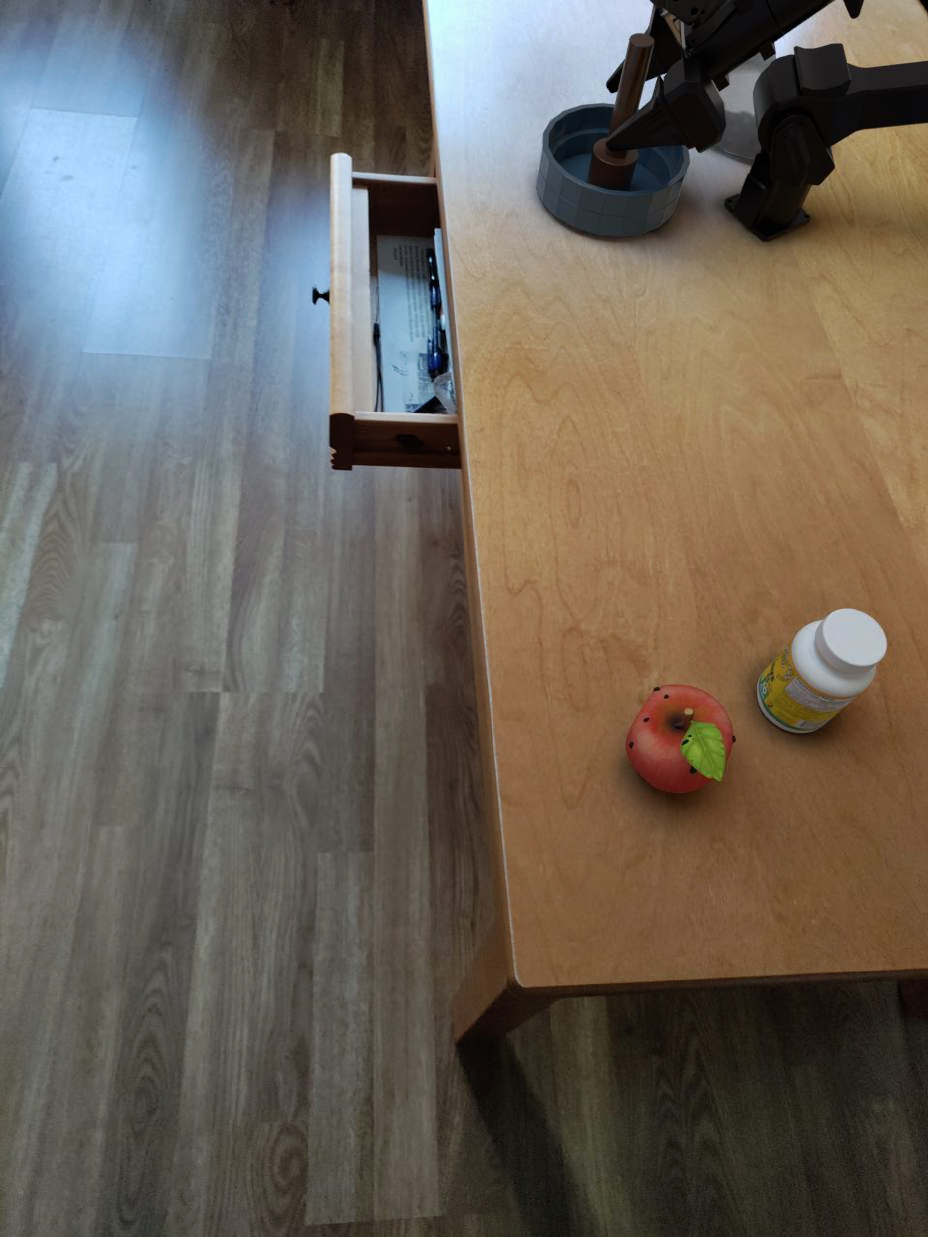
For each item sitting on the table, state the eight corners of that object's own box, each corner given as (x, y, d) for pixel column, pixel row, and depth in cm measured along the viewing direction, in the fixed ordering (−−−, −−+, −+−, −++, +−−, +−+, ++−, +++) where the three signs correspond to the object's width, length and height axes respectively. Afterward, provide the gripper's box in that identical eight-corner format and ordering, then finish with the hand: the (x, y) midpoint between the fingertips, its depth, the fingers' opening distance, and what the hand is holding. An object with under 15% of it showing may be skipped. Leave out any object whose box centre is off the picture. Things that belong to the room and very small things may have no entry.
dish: (720, 74, 98) (735, 27, 94) (830, 124, 95) (851, 77, 91) (658, 131, 92) (672, 84, 88) (774, 186, 89) (793, 140, 85)
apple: (592, 732, 58) (627, 670, 50) (678, 698, 60) (726, 632, 51) (647, 837, 55) (694, 790, 46) (735, 798, 57) (797, 745, 48)
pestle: (637, 194, 86) (678, 45, 74) (603, 208, 84) (639, 58, 72) (610, 170, 87) (645, 20, 75) (576, 183, 86) (606, 32, 74)
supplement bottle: (805, 750, 59) (874, 694, 50) (739, 702, 60) (795, 639, 52) (842, 696, 61) (913, 634, 53) (777, 651, 62) (837, 583, 54)
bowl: (617, 136, 91) (629, 88, 87) (703, 214, 86) (720, 167, 82) (507, 174, 87) (513, 126, 82) (591, 259, 82) (602, 212, 77)
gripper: (718, -148, 70) (560, -12, 79) (733, -31, 61) (553, 106, 70) (776, -25, 77) (625, 86, 86) (797, 96, 68) (625, 205, 77)
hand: (607, 116), depth 80 cm, fingers open, 9 cm apart
